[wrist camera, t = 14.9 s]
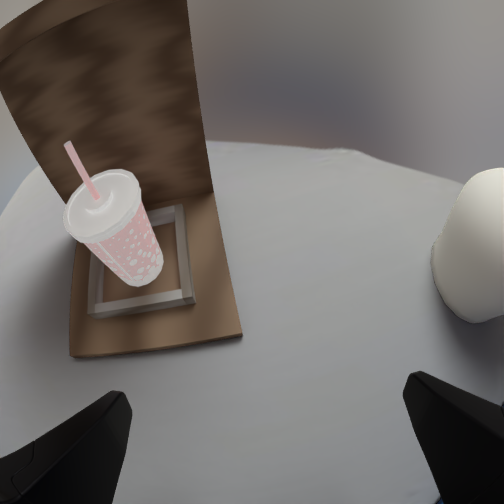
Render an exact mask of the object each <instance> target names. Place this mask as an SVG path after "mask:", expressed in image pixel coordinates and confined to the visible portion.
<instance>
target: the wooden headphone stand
mask: <svg viewBox="0 0 504 504" xmlns="http://www.w3.org/2000/svg"><path fill="white" fill-rule="evenodd" d="M0 91H1V94H2V96H3V98H4V100H5V103H6V105H7V107H8V109H9V111H10V113H11V115H12V117H13V119H14V121H15V123H16V125H17V127H18V129H19V130H20V132H21V134H22V136H23V138H24V139H25V141H26V143H27V145H28V147H29V148H30V150H31V152H32V153H33V155H34V157H35V158H36V160H37V161H38V163H39V165H40V166H41V168H42V170H43V171H44V173H45V174H46V176H47V177H48V179H49V180H50V182H51V183H52V185H53V186H54V188H55V189H56V191H57V192H58V194H59V195H60V197H61V198H62V200H63V201H64V202H65V204H67V203H68V201H69V199H70V197H71V195H72V194H73V193H74V192H75V191H76V190H77V189H78V187H79V186H80V185H81V184H82V183H84V181H83V180H82V178H81V176H80V174H79V173H78V171H77V169H76V167H75V166H74V164H73V162H72V160H71V158H70V156H69V154H68V153H67V151H66V149H65V147H64V144H65V143H66V142H68V141H71V143H72V145H73V147H74V149H75V151H76V153H77V155H78V157H79V159H80V161H81V163H82V165H83V166H84V168H85V170H86V172H87V174H88V176H89V177H90V178H91V177H93V176H94V175H96V174H99V173H101V172H104V171H107V170H112V169H123V170H126V171H129V172H131V173H133V175H134V176H135V178H136V179H137V180H138V182H139V187H140V188H141V201H142V203H143V206H144V209H145V211H146V214H147V217H148V219H149V222H150V224H151V227H152V229H153V232H154V234H155V237H156V239H157V242H158V244H159V247H160V249H161V251H162V254H163V261H164V262H163V266H162V270H161V272H160V273H159V274H158V276H157V277H156V279H154V280H153V281H151V282H150V283H148V284H146V285H143V286H139V287H137V286H131V285H129V284H127V283H126V282H124V281H123V280H122V279H121V278H120V277H118V276H117V275H116V274H115V273H114V272H113V271H112V270H111V269H110V268H109V267H108V266H106V265H105V264H104V263H103V262H102V261H101V260H100V259H99V258H98V257H97V256H96V255H95V254H94V253H93V252H92V251H91V250H90V249H89V248H88V247H87V246H86V245H85V244H84V243H81V242H79V241H78V240H77V245H76V252H75V259H74V267H73V276H72V287H71V301H70V331H69V341H70V356H72V357H74V358H84V357H98V356H110V355H121V354H130V353H139V352H147V351H155V350H162V349H170V348H176V347H183V346H189V345H195V344H201V343H207V342H212V341H218V340H223V339H228V338H233V337H238V336H243V334H242V329H241V325H240V320H239V316H238V311H237V306H236V302H235V297H234V292H233V287H232V283H231V278H230V273H229V268H228V263H227V258H226V253H225V248H224V243H223V238H222V233H221V228H220V223H219V217H218V212H217V207H216V201H215V196H214V191H213V185H212V179H211V173H210V167H209V161H208V155H207V148H206V142H205V136H204V130H203V123H202V116H201V109H200V102H199V95H198V88H197V81H196V74H195V67H194V59H193V51H192V42H191V34H190V26H189V17H188V8H187V0H43V1H42V2H40V3H38V4H37V5H35V6H33V7H32V8H30V9H28V10H27V11H25V12H24V13H22V14H21V15H19V16H18V17H17V18H15V19H13V20H12V21H11V22H9V23H8V24H6V25H5V26H4V27H2V28H1V29H0Z"/></svg>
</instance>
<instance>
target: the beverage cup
mask: <svg viewBox="0 0 504 504" xmlns="http://www.w3.org/2000/svg"><path fill="white" fill-rule="evenodd" d="M64 147H65V149H66V151H67V153H68V154H69V156H70V158H71V160H72V162H73V164H74V166H75V167H76V169H77V171H78V173H79V174H80V176H81V178H82V180H83V181H84V183H82V184H81V185H80V186H79V187H78V189H77V190H76V191H75V192H74V193H73V194H72V195H71V197H70V199H69V201H68V203H67V204H66V206H65V210H64V215H63V221H64V225H65V228H66V230H67V232H69V233H70V234H71V236H72V237H74V238H75V239H76V240H78V241H79V242H81V243H84V244H85V245H86V246H87V247H88V248H89V249H90V250H91V251H92V252H93V253H94V254H95V255H96V256H97V257H98V258H99V259H100V260H101V261H102V262H103V263H104V264H105V265H106V266H108V267H109V268H110V269H111V270H112V271H113V272H114V273H115V274H116V275H117V276H118V277H120V278H121V279H122V280H123V281H124V282H126V283H127V284H129V285H131V286H137V287H139V286H143V285H146V284H148V283H150V282H151V281H153V280H154V279H156V277H157V276H158V274H159V273H160V272H161V270H162V266H163V262H164V261H163V254H162V251H161V249H160V247H159V244H158V242H157V239H156V237H155V234H154V232H153V229H152V227H151V224H150V222H149V219H148V217H147V214H146V211H145V209H144V206H143V203H142V201H141V188H140V187H139V182H138V180H137V179H136V178H135V176H134V175H133V173H131V172H129V171H126V170H123V169H112V170H107V171H104V172H101V173H99V174H96V175H94V176H93V177H91V178H90V177H89V176H88V174H87V172H86V170H85V168H84V166H83V165H82V163H81V161H80V159H79V157H78V155H77V153H76V151H75V149H74V147H73V145H72V143H71V141H68V142H66V143H65V144H64Z"/></svg>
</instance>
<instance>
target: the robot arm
mask: <svg viewBox="0 0 504 504" xmlns="http://www.w3.org/2000/svg"><path fill="white" fill-rule="evenodd" d="M403 399H404V402H405V405H406V408H407V411H408V414H409V417H410V420H411V423H412V426H413V429H414V432H415V434H416V437H417V439H418V441H419V444H420V446H421V448H422V451H423V453H424V455H425V458H426V460H427V462H428V465H429V467H430V470H431V472H432V475H433V477H434V480H435V482H436V485H437V488H438V490H439V493H440V496H441V498H442V501H443V504H504V407H500V406H499V405H497V404H494V403H492V402H489V401H487V400H485V399H482V398H480V397H478V396H476V395H473V394H471V393H469V392H466V391H464V390H462V389H460V388H457V387H455V386H453V385H451V384H449V383H446V382H444V381H442V380H440V379H438V378H435V377H433V376H431V375H429V374H427V373H425V372H423V371H417V372H414V373H411V374H410V375H409V376H408V379H407V382H406V385H405V387H404V390H403ZM131 420H132V409H131V406H130V404H129V402H128V400H127V397H126V395H125V394H124V393H123V392H120V391H114V390H113V391H110V392H108V393H107V394H106V395H104V396H103V397H101V398H100V399H98V400H97V401H95V402H94V403H92V404H91V405H89V406H88V407H86V408H85V409H83V410H81V411H80V412H78V413H77V414H75V415H74V416H72V417H71V418H69V419H68V420H66V421H65V422H63V423H61V424H60V425H58V426H57V427H55V428H54V429H52V430H50V431H49V432H47V433H46V434H44V435H42V436H41V437H39V438H37V439H36V440H35V441H32V442H31V443H29V444H28V445H26V446H24V447H22V448H21V449H19V450H17V451H15V452H13V453H11V454H9V455H7V456H5V457H2V458H0V504H112V502H113V498H114V494H115V490H116V486H117V483H118V479H119V475H120V472H121V468H122V465H123V461H124V457H125V454H126V449H127V443H128V437H129V431H130V425H131Z"/></svg>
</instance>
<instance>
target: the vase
mask: <svg viewBox="0 0 504 504" xmlns="http://www.w3.org/2000/svg"><path fill="white" fill-rule="evenodd" d="M430 264H431V268H432V273H433V277H434V282H435V285H436V287H437V289H438V291H439V292H440V294H441V296H442V298H443V300H444V302H445V304H446V305H447V306H448V307H449V308H450V309H451V310H452V311H453V312H454V313H455V314H456V316H457V317H459V318H461V319H463V320H465V321H467V322H469V323H471V324H474V323H482V322H486V321H488V320H489V319H492V318H494V317H498V316H501V315H504V168H496V169H490V170H485V171H483V172H480V173H477V174H476V175H475V176H473V177H472V178H471V179H470V180H469V181H468V182H467V183H466V184H465V185H464V187H463V189H462V190H461V192H460V194H459V196H458V198H457V200H456V202H455V203H454V205H453V207H452V209H451V211H450V214H449V216H448V218H447V221H446V223H445V226H444V228H443V230H442V233H441V234H440V235H439V236H438V238H437V240H436V241H435V243H434V245H433V246H432V253H431V263H430Z"/></svg>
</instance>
